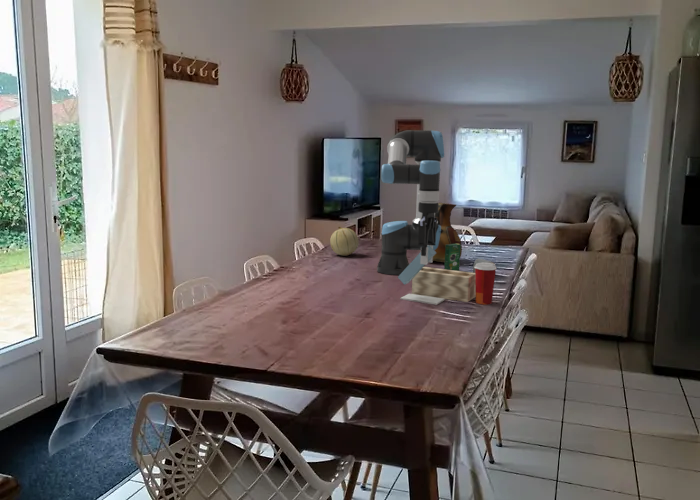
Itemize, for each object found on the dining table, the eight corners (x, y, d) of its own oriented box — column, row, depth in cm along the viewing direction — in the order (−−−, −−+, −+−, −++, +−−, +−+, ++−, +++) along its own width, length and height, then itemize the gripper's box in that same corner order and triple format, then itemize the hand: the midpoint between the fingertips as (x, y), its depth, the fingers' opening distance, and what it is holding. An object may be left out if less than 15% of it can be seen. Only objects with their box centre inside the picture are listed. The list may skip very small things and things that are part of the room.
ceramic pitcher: (467, 260, 330) (470, 202, 324) (451, 267, 313) (454, 205, 308) (432, 256, 340) (434, 199, 335) (414, 262, 323) (416, 202, 318)
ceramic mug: (488, 278, 289) (489, 261, 288) (472, 276, 294) (473, 259, 293) (499, 275, 298) (500, 259, 296) (482, 272, 303) (483, 256, 301)
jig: (475, 296, 257) (477, 273, 255) (467, 302, 248) (468, 277, 246) (421, 289, 268) (422, 266, 266) (411, 294, 259) (412, 270, 258)
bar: (436, 252, 247) (429, 245, 248) (432, 254, 243) (425, 246, 244) (408, 282, 255) (401, 275, 256) (404, 284, 251) (397, 277, 252)
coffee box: (455, 270, 307) (456, 242, 304) (459, 271, 305) (461, 243, 302) (443, 272, 302) (444, 244, 299) (448, 273, 299) (449, 245, 297)
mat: (409, 295, 258) (409, 293, 258) (444, 300, 250) (444, 298, 250) (400, 299, 251) (400, 297, 251) (436, 304, 244) (436, 303, 243)
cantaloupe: (358, 258, 331) (358, 229, 329) (329, 257, 332) (329, 228, 329) (358, 253, 346) (358, 225, 343) (330, 252, 346) (331, 224, 343)
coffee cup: (495, 301, 250) (498, 263, 248) (493, 306, 243) (495, 267, 240) (474, 299, 253) (476, 261, 250) (470, 304, 245) (472, 265, 243)
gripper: (428, 199, 253) (425, 258, 257) (410, 203, 238) (408, 265, 242) (446, 200, 249) (443, 260, 253) (429, 204, 234) (426, 267, 238)
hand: (426, 263), depth 247 cm, fingers closed on bar, 4 cm apart
